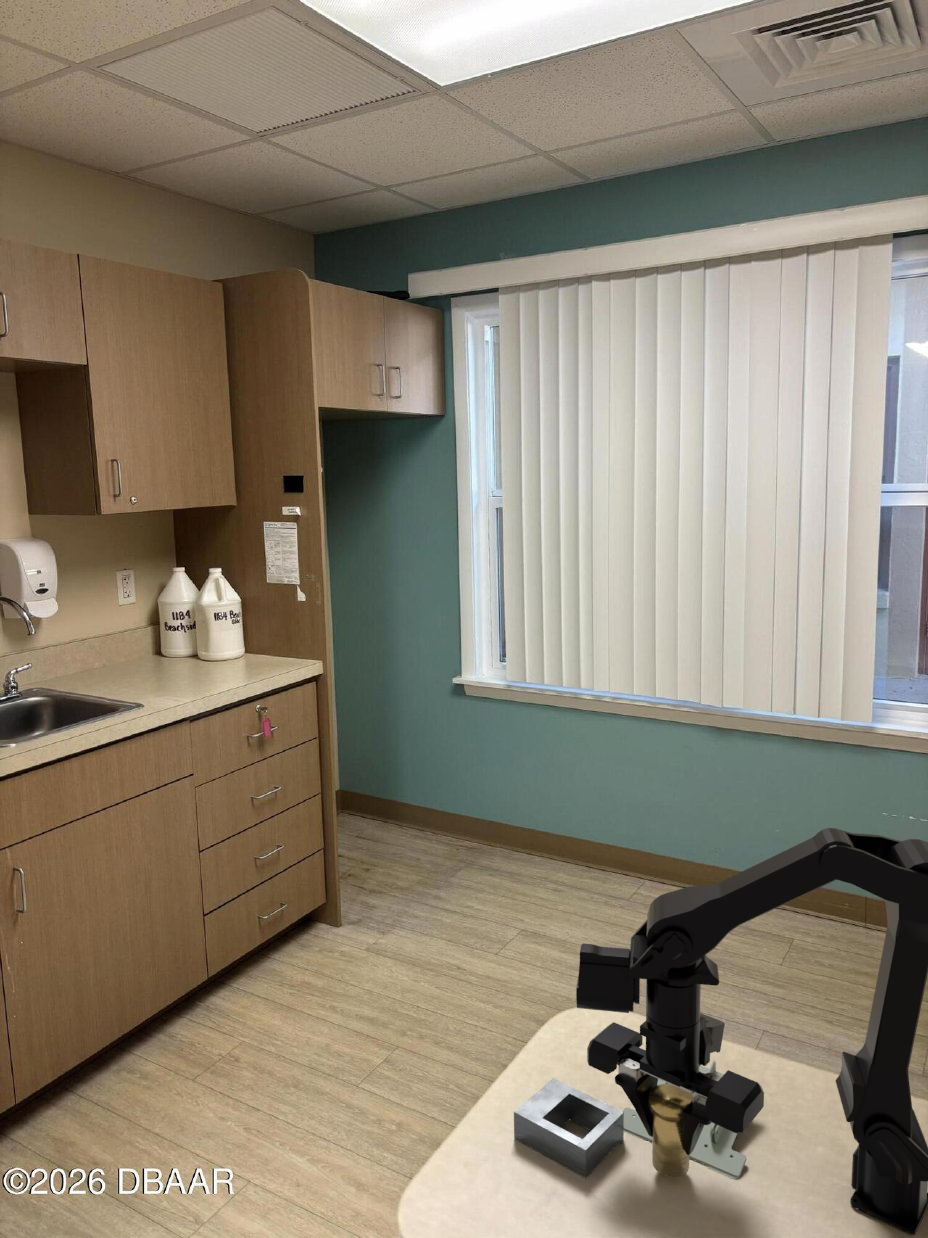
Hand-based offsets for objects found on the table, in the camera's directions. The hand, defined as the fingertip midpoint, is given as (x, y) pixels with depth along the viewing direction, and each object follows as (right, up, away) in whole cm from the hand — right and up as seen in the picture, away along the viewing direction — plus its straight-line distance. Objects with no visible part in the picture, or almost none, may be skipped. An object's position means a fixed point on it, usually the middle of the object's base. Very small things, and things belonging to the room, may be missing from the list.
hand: (671, 1143), depth 105 cm
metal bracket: (+5, -3, +9) cm, 11 cm away
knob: (0, -3, 0) cm, 2 cm away
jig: (-10, -3, +6) cm, 12 cm away
